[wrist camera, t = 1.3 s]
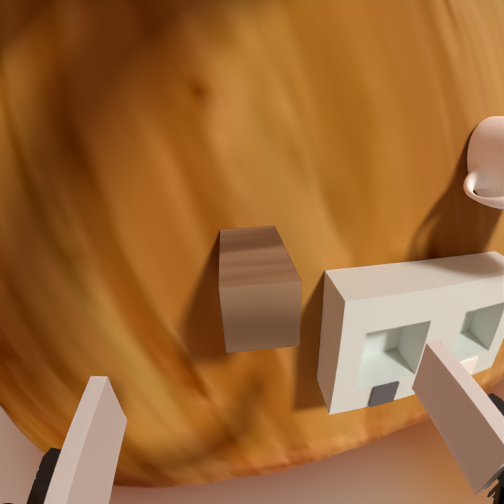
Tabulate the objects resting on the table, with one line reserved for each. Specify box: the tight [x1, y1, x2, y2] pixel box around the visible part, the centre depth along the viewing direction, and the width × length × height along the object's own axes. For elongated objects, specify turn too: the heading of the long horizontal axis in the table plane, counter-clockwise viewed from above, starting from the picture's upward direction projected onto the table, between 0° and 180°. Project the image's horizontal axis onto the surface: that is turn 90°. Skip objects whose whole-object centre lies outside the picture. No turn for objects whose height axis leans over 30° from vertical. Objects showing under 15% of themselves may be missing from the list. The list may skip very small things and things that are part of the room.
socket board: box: [317, 251, 504, 415], centre depth 26 cm, size 12×20×5 cm, turn 93°
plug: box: [219, 226, 302, 353], centre depth 20 cm, size 4×4×9 cm
